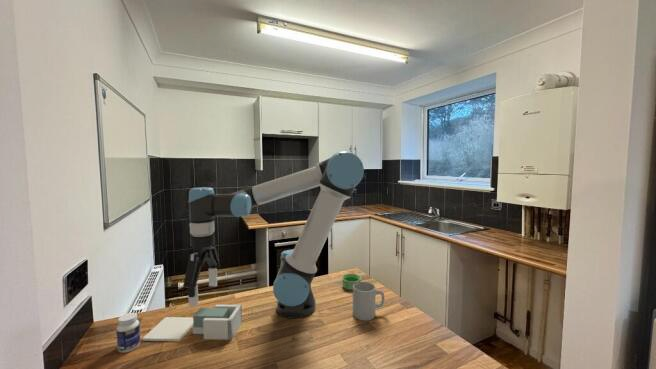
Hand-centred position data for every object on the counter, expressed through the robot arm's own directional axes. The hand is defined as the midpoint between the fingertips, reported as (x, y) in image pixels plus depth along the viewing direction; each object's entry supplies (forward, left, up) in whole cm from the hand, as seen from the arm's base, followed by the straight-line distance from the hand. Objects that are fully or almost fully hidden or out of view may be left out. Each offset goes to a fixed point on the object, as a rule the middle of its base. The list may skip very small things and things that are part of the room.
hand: (204, 295), depth 91 cm
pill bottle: (+20, +9, -13) cm, 25 cm away
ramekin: (-52, -34, -13) cm, 64 cm away
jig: (-4, 0, -12) cm, 13 cm away
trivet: (+12, 0, -13) cm, 17 cm away
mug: (-57, -11, -13) cm, 60 cm away
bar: (-2, 0, -10) cm, 10 cm away
